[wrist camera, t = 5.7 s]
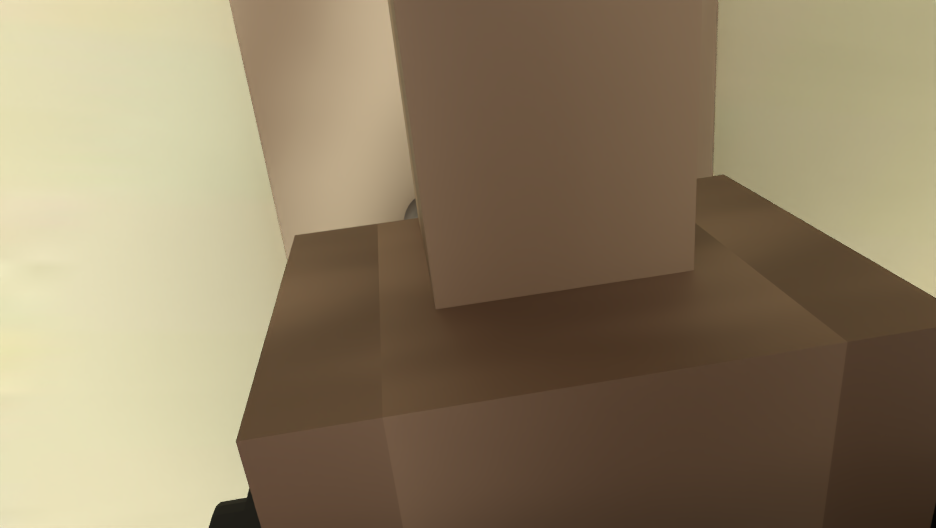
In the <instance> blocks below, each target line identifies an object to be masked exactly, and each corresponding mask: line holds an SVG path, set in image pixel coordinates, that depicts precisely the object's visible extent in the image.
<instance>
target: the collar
mask: <svg viewBox="0 0 936 528" xmlns="http://www.w3.org/2000/svg"><path fill="white" fill-rule="evenodd" d="M388 6H389V14H390V21H391V28H392V35H393V42H394V49H395V56H396V63H397V71H398V78H399V85H400V92H401V99H402V106H403V113H404V120H405V128H406V135H407V142H408V149H409V156H410V163H411V170H412V177H413V185H414V192H415V199H416V206H417V213H418V218H414V219H407V220H399V221H392V222H385V223H378V224H371V225H364V226H357V227H350V228H343V229H336V230H329V231H322V232H314V233H307V234H300V235H295V236H294V240H293V243H292V247H291V250H290V254H289V257H288V261H287V264H286V268H285V271H284V275H283V278H282V282H281V285H280V289H279V292H278V296H277V299H276V303H275V306H274V310H273V313H272V317H271V321H270V324H269V328H268V331H267V335H266V338H265V342H264V345H263V349H262V352H261V356H260V359H259V363H258V366H257V370H256V373H255V377H254V380H253V384H252V387H251V391H250V394H249V398H248V401H247V405H246V408H245V412H244V415H243V419H242V422H241V426H240V429H239V433H238V436H237V440H236V443H237V447H238V450H239V454H240V457H241V460H242V464H243V467H244V471H245V474H246V477H247V481H248V484H249V488H250V491H251V494H252V498H253V501H254V505H255V508H256V511H257V515H258V518H259V522H260V525H261V528H930V527H931V522H932V517H933V513H934V508H935V504H936V298H935V297H933V296H931V295H930V294H928V293H926V292H924V291H923V290H921V289H919V288H918V287H916V286H914V285H912V284H911V283H909V282H907V281H905V280H904V279H902V278H900V277H899V276H897V275H895V274H893V273H892V272H890V271H888V270H887V269H885V268H883V267H881V266H880V265H878V264H876V263H875V262H873V261H871V260H869V259H868V258H866V257H864V256H863V255H861V254H859V253H857V252H856V251H854V250H852V249H851V248H849V247H847V246H845V245H844V244H842V243H840V242H838V241H837V240H835V239H833V238H832V237H830V236H828V235H826V234H825V233H823V232H821V231H820V230H818V229H816V228H814V227H813V226H811V225H809V224H808V223H806V222H804V221H802V220H801V219H799V218H797V217H796V216H794V215H792V214H790V213H789V212H787V211H785V210H783V209H782V208H780V207H778V206H777V205H775V204H773V203H771V202H770V201H768V200H766V199H765V198H763V197H761V196H759V195H758V194H756V193H754V192H753V191H751V190H749V189H747V188H746V187H744V186H742V185H741V184H739V183H737V182H735V181H734V180H732V179H730V178H729V177H727V176H725V175H718V176H711V177H704V178H697V154H698V121H699V89H700V57H701V25H702V0H388Z"/></svg>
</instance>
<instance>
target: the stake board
mask: <svg viewBox="0 0 936 528" xmlns="http://www.w3.org/2000/svg"><path fill="white" fill-rule="evenodd" d="M229 1H230V6H231V10H232V15H233V19H234V24H235V28H236V33H237V37H238V42H239V46H240V51H241V55H242V60H243V64H244V68H245V73H246V77H247V82H248V86H249V91H250V95H251V100H252V104H253V109H254V113H255V118H256V122H257V127H258V131H259V136H260V140H261V145H262V149H263V154H264V158H265V163H266V167H267V172H268V176H269V180H270V185H271V189H272V194H273V198H274V203H275V207H276V212H277V216H278V221H279V225H280V230H281V234H282V239H283V243H284V248H285V252H286V257H287V261H288V257H289V254H290V250H291V247H292V243H293V240H294V236H295V235H300V234H307V233H314V232H322V231H329V230H336V229H343V228H350V227H357V226H364V225H371V224H378V223H385V222H392V221H399V220H407V219H414V218H418V213H417V206H416V199H415V192H414V185H413V177H412V170H411V163H410V156H409V149H408V142H407V135H406V128H405V120H404V113H403V106H402V99H401V92H400V85H399V78H398V71H397V63H396V56H395V49H394V42H393V35H392V28H391V21H390V14H389V6H388V0H229ZM717 24H718V0H702V25H701V57H700V89H699V121H698V154H697V178H704V177H711V176H713V152H714V120H715V88H716V56H717Z"/></svg>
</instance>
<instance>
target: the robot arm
mask: <svg viewBox="0 0 936 528" xmlns="http://www.w3.org/2000/svg"><path fill="white" fill-rule="evenodd" d="M209 528H261V525H260V522H259V518H258V515H257V511H256V508H255V505H254V501H253V498H252V494H251V491H250V488H249V492H248V496H247V498H242V499H236V500H231V501H225V502H220V503H219V504H218V505H217V506H216V508H215V510H214V513H213V515H212V518H211V522H210V525H209ZM930 528H936V504H935V508H934V513H933V517H932V522H931V527H930Z"/></svg>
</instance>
